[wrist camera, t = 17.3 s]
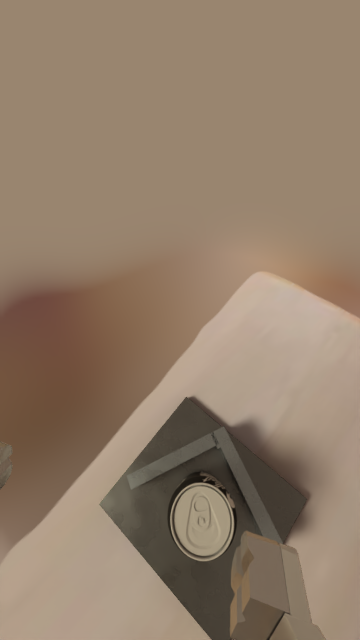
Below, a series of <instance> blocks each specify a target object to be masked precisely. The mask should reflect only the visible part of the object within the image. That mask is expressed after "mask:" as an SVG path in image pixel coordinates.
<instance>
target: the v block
mask: <svg viewBox="0 0 360 640" xmlns="http://www.w3.org/2000/svg"><path fill="white" fill-rule="evenodd" d="M194 472H206V473H209V474H211V475H213V476H214V477H215V478H217V479H218V480H219V482H220V483H221V484H222V485H223V486H224V488H225V489H226V490H227V491H228V493H229V494H230V496H231V498H232V500H233V502H234V505H235V509H236V514H237V528H236V533H235V536H234V539H233V542H232V544H231V545H230V547H229V548H228V550H227V551H226V552H225V553H224V554H223V555H222V556H220V557H218V558H217V559H214V560H212V561H207V562H201V561H196V560H193V559H191V558H189V557H187V556H186V555H184V554H183V553H182V552H181V551H180V550H179V549H178V547H177V546H176V545H175V543H174V541H173V539H172V537H171V535H170V531H169V527H168V520H167V514H168V507H169V503H170V500H171V497H172V495H173V493H174V492H175V490H176V489H177V487H178V486H179V485H180V483H181V482H182V480H183V479H184V478H185V477H187V476H188V475H190V474H192V473H194ZM306 500H307V499H306V498H305V497H304V496H303V495H302V494H300V493H299V492H298V491H297V490H296V489H294V488H293V487H292V486H291V485H290V484H289V483H287V482H286V481H285V480H284V479H283V478H282V477H280V476H279V475H278V474H277V473H276V472H274V471H273V470H272V469H271V468H270V467H269V466H267V465H266V464H265V463H264V462H263V461H261V460H260V459H259V458H258V457H257V456H256V455H254V454H253V453H252V452H251V451H250V450H249V449H247V448H246V447H245V446H244V445H243V444H241V443H240V442H239V441H238V440H237V439H236V438H234V437H233V436H232V435H231V434H230V433H228V432H227V431H226V429H225V427H224V426H223V427H221V426H220V425H219V424H218V423H217V422H216V421H214V420H213V419H212V418H211V417H210V416H208V415H207V414H206V413H205V412H204V411H203V410H201V409H200V408H199V407H198V406H197V405H195V404H194V403H193V402H192V401H191V400H190V399H188V398H187V397H186V398H185V399H184V400H183V402H182V403H181V404H180V405H179V407H178V408H177V409H176V410H175V411H174V413H173V414H172V415H171V416H170V418H169V419H168V420H167V421H166V423H165V424H164V425H163V426H162V427H161V429H160V430H159V431H158V432H157V434H156V435H155V436H154V437H153V439H152V440H151V441H150V442H149V443H148V445H147V446H146V447H145V448H144V450H143V451H142V452H141V453H140V454H139V456H138V457H137V458H136V459H135V461H134V462H133V463H132V464H131V466H130V467H129V468H128V469H127V470H126V472H125V473H124V474H123V475H122V477H121V478H120V479H119V480H118V482H117V483H116V484H115V485H114V486H113V488H112V489H111V490H110V491H109V493H108V494H107V495H106V496H105V498H104V499H103V500H102V501H101V502H100V504H99V505H100V506H101V507H102V508H103V509H104V511H105V512H106V513H107V514H108V515H109V517H110V518H111V519H112V520H113V521H114V523H115V524H116V525H117V526H118V527H119V529H120V530H121V531H122V532H123V534H124V535H125V536H126V537H127V538H128V540H129V541H130V542H131V543H132V544H133V546H134V547H135V548H136V549H137V550H138V552H139V553H140V554H141V555H142V556H143V558H144V559H145V560H146V561H147V562H148V564H149V565H150V566H151V567H152V568H153V570H154V571H155V572H156V573H157V574H158V576H159V577H160V578H161V579H162V580H163V582H164V583H165V584H166V585H167V586H168V588H169V589H170V590H171V591H172V592H173V594H174V595H175V596H176V597H177V598H178V600H179V601H180V602H181V603H182V605H183V606H184V607H185V608H186V609H187V611H188V612H189V613H190V614H191V615H192V617H193V618H194V619H195V620H196V621H197V623H198V624H199V625H200V626H201V627H202V629H203V630H204V631H205V632H206V633H207V635H208V636H209V637H210V638H211V639H212V640H230V639H231V637H230V605H231V603H232V600H233V598H234V596H235V593H234V591H233V589H232V587H231V569H232V562H233V557H234V553H235V551H236V548H237V547H239V546H241V537H242V534H243V532H244V531H248V532H251V533H254V534H257V535H260V536H263V537H266V538H268V539H271V540H274V541H277V542H278V543H281V544H283V542H284V540H285V539H286V537H287V535H288V533H289V531H290V529H291V528H292V526H293V524H294V522H295V520H296V518H297V517H298V515H299V513H300V511H301V509H302V508H303V506H304V504H305V502H306Z"/></svg>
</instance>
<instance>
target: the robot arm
mask: <svg viewBox="0 0 360 640" xmlns="http://www.w3.org/2000/svg"><path fill="white" fill-rule="evenodd" d="M11 454H12V446H10V445H7V444H5V443H2V442H0V489H1V488H2V487H3V486H4V484H5V483H6V481H7V480H8V478H9V476H10V474H11V470H12V462H11V461H10V459H9V456H10V455H11ZM231 587H232V589H233V591H234V593H235V596H234V598H233V600H232V603H231V605H230V637H231V638H233V639H235V640H326V639H325V637H324V635H323V634H322V632H321V630H320V629H319V627H318V626H317V625H314V624H312V620H311V615H310V610H309V605H308V600H307V595H306V590H305V585H304V580H303V575H302V571H301V566H300V561H299V556H298V553H297V551H296V549H295V548H293V547H290V546H287V545H284V544H281V543H278V542H277V541H274V540H271V539H268V538H266V537H263V536H260V535H257V534H254V533H251V532H248V531H244V532H243V534H242V537H241V546H239V547H237V548H236V551H235V553H234V557H233V562H232V569H231Z"/></svg>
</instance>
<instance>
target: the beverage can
mask: <svg viewBox="0 0 360 640" xmlns="http://www.w3.org/2000/svg"><path fill="white" fill-rule="evenodd" d="M167 520H168V527H169V531H170V535H171V537H172V539H173V541H174V543H175V545H176V546H177V547H178V549H179V550H180V551H181V552H182V553H183V554H184V555H186V556H187V557H189V558H191V559H193V560H196V561H201V562H207V561H212V560H214V559H217V558H218V557H220V556H222V555H223V554H224V553H225V552H226V551H227V550H228V548H229V547H230V545H231V544H232V542H233V539H234V536H235V533H236V528H237V514H236V509H235V505H234V502H233V500H232V498H231V496H230V494H229V493H228V491H227V490H226V489H225V488H224V486H223V485H222V484H221V483H220V482H219V480H218V479H217V478H215V477H214V476H213V475H211V474H209V473H206V472H194V473H192V474H190V475H188V476H187V477H185V478H184V479H183V480H182V482H181V483H180V485H179V486H178V487H177V489H176V490H175V492H174V493H173V495H172V497H171V500H170V503H169V507H168V514H167Z"/></svg>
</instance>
